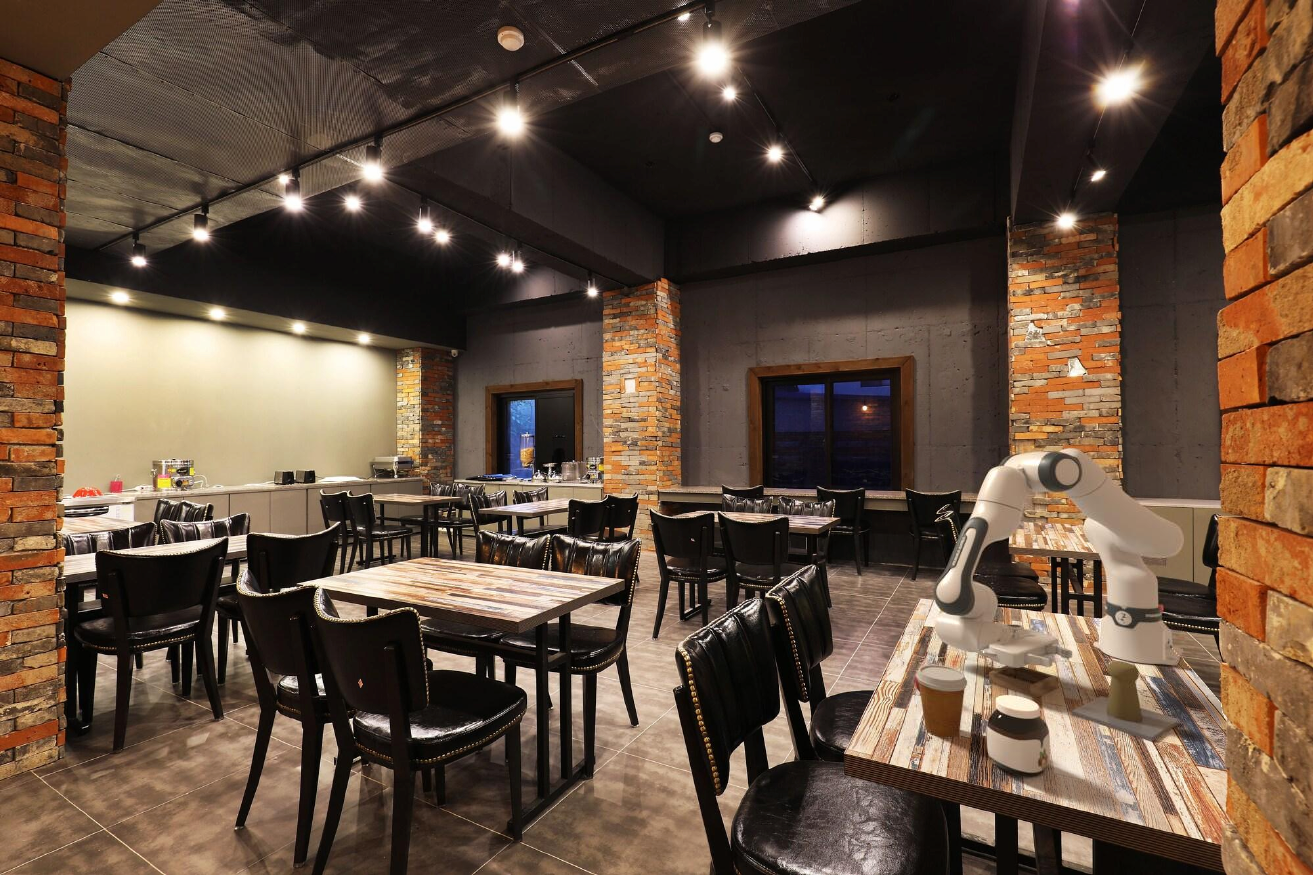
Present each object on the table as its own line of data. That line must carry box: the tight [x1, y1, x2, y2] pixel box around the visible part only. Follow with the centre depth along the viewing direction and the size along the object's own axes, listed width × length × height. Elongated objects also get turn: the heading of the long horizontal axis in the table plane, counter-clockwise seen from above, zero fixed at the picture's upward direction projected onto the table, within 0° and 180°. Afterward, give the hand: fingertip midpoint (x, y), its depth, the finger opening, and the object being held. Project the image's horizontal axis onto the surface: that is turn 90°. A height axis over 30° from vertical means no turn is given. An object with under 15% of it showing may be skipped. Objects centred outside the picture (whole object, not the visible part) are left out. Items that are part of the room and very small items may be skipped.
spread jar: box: [985, 694, 1051, 778], centre depth 111 cm, size 12×11×12 cm
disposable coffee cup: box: [915, 664, 968, 739], centre depth 123 cm, size 10×10×12 cm
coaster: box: [1071, 695, 1180, 742], centre depth 127 cm, size 14×14×1 cm
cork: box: [1107, 661, 1142, 722], centre depth 127 cm, size 6×6×11 cm
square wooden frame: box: [988, 665, 1060, 699], centre depth 145 cm, size 11×11×2 cm
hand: (1061, 658), depth 137 cm, fingers open, 8 cm apart
